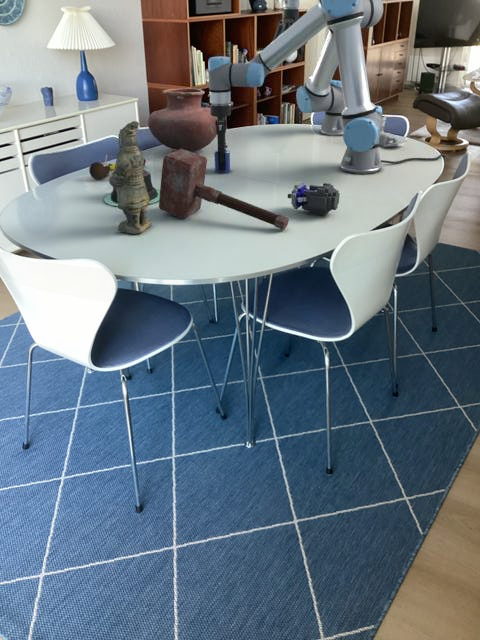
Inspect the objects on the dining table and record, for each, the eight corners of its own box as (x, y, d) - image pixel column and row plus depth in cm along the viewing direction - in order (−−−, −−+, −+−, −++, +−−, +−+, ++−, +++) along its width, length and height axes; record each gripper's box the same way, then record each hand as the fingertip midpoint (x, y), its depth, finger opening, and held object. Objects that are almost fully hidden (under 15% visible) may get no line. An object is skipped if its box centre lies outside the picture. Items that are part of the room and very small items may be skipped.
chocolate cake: (91, 202, 180) (113, 186, 197) (142, 231, 182) (160, 212, 199) (107, 162, 172) (129, 148, 190) (160, 192, 174) (177, 176, 192)
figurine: (152, 155, 217) (104, 161, 197) (152, 175, 220) (105, 183, 201) (127, 151, 223) (79, 157, 204) (128, 170, 226) (80, 177, 207)
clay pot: (228, 143, 251) (226, 84, 239) (213, 161, 226) (210, 95, 213) (163, 142, 256) (158, 84, 243) (142, 159, 231) (135, 95, 218)
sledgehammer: (299, 190, 156) (179, 147, 167) (285, 200, 148) (161, 154, 160) (286, 244, 166) (174, 200, 177) (272, 256, 158) (156, 209, 170)
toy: (295, 178, 172) (342, 184, 166) (295, 205, 177) (340, 211, 171) (285, 186, 166) (333, 192, 160) (284, 213, 170) (331, 220, 164)
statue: (131, 220, 168) (117, 116, 152) (158, 224, 164) (147, 118, 149) (109, 233, 159) (93, 124, 144) (138, 237, 156) (124, 126, 140)
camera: (379, 113, 243) (410, 118, 235) (376, 141, 250) (406, 146, 241) (369, 117, 238) (400, 121, 229) (366, 144, 244) (396, 150, 235)
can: (224, 168, 216) (224, 149, 213) (233, 171, 212) (232, 151, 209) (212, 171, 214) (211, 151, 210) (220, 174, 209) (219, 154, 206)
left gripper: (266, 8, 261) (265, 58, 272) (305, 9, 245) (303, 62, 256) (277, 7, 266) (276, 56, 277) (316, 8, 249) (314, 60, 260)
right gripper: (211, 99, 209) (214, 161, 220) (208, 108, 192) (211, 175, 204) (231, 99, 209) (232, 161, 220) (229, 108, 192) (231, 174, 204)
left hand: (289, 59), depth 266 cm, fingers open, 13 cm apart
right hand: (222, 167), depth 212 cm, fingers closed on can, 6 cm apart
